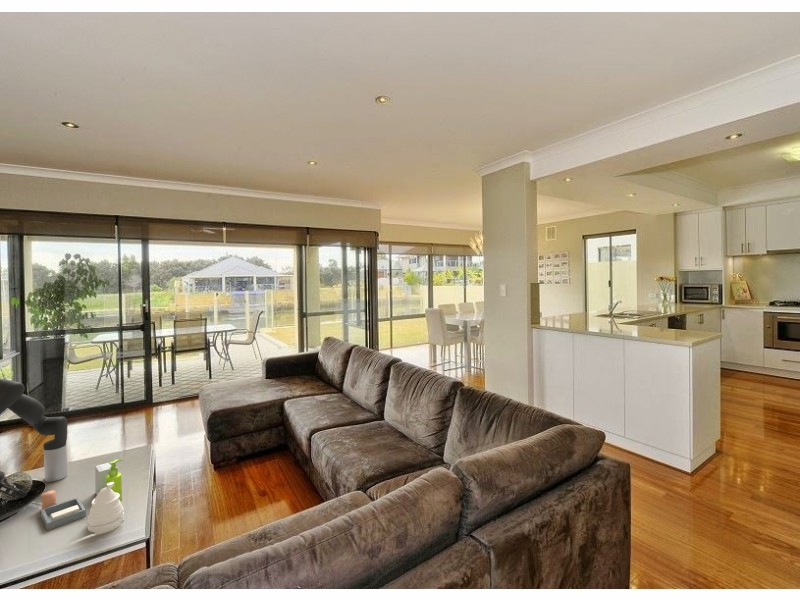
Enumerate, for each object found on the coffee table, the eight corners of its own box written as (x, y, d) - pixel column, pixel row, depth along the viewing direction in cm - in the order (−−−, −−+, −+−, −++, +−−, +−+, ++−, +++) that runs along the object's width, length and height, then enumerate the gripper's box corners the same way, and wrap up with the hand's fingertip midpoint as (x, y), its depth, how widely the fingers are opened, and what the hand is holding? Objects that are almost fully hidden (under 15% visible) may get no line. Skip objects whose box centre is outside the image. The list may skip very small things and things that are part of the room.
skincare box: (95, 494, 193) (94, 465, 192) (109, 489, 197) (108, 461, 196) (99, 501, 187) (98, 471, 186) (114, 495, 192) (113, 467, 191)
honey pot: (122, 512, 179) (120, 474, 178) (126, 525, 170) (124, 485, 168) (86, 523, 170) (84, 484, 169) (88, 538, 161) (87, 497, 160)
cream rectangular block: (51, 522, 169) (50, 513, 169) (77, 513, 176) (77, 504, 176) (53, 526, 167) (52, 517, 166) (79, 516, 174) (79, 508, 173)
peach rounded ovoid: (41, 510, 180) (40, 493, 179) (55, 505, 183) (54, 489, 183) (43, 514, 176) (42, 497, 176) (57, 509, 180) (56, 493, 180)
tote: (41, 518, 174) (40, 509, 174) (78, 505, 184) (77, 497, 184) (47, 532, 164) (47, 523, 164) (86, 517, 174) (85, 509, 174)
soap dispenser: (127, 498, 190) (125, 459, 189) (112, 506, 183) (111, 465, 182) (118, 496, 192) (117, 457, 190) (104, 503, 185) (102, 463, 184)
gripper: (-5, 474, 161) (34, 489, 170) (-8, 463, 170) (29, 478, 179) (-23, 492, 157) (18, 506, 167) (-25, 480, 166) (13, 494, 176)
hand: (24, 491), depth 173 cm, fingers open, 8 cm apart
